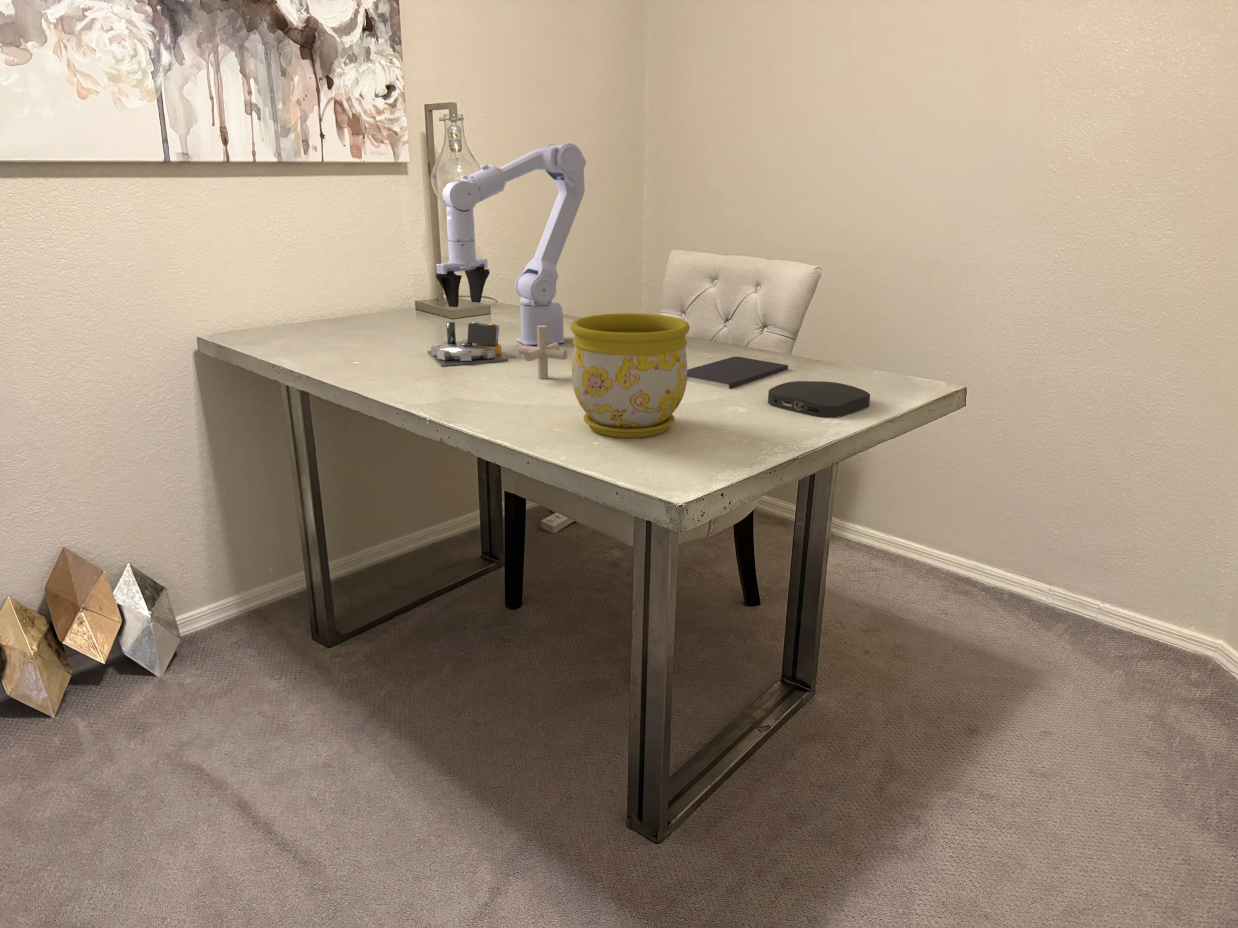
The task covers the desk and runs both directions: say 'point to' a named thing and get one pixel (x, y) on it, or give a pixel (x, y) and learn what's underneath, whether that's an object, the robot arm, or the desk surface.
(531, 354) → the pipe connector
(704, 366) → the notebook
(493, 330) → the two-button control panel
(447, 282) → the robot arm
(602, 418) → the flowerpot
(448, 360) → the plate
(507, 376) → the desk surface
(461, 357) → the sprocket
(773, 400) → the media streaming box
